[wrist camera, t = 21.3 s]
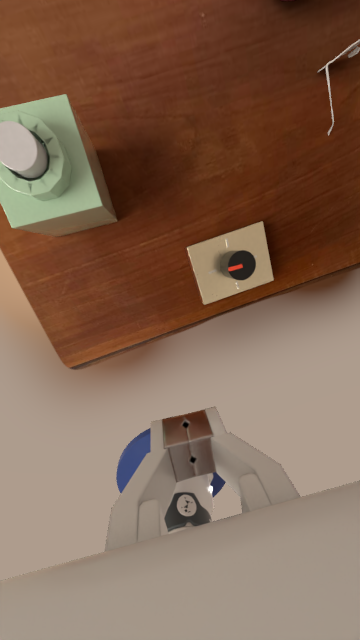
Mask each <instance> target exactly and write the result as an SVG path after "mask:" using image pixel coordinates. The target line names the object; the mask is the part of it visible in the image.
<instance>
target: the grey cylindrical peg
mask: <svg viewBox="0 0 360 640" xmlns="http://www.w3.org/2000/svg"><path fill="white" fill-rule="evenodd" d="M0 162H1V163H2V164H4V165H5V166H6V167H8V168H9V169H11V170H13V171H14V172H16V173H18V174H19V175H21V176H23V177H26V178H37V177H39V176H41V175H42V174H43V173H44V172H45V170H46V168H47V164H48V157H47V153H46V150H45V148H44V147H43V145H42V144H41V142H40V141H39V140H38V139H37V138H36V137H35V136H34V135H33V134H32V133H31V132H30V131H29V130H28V129H27V128H26V127H24V126H23V125H21V124H19V123H17V122H13V121H4V122H1V123H0Z"/></svg>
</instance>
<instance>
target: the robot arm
mask: <svg viewBox="0 0 360 640" xmlns="http://www.w3.org/2000/svg"><path fill="white" fill-rule="evenodd" d="M214 472H217V474H218V475H219V476H220V477H221V478H222V479H223V480H224V481H225V482H226V483H227V484H228V485H229V486H230V487H231V488H232V489H233V490H234V491H235V492H236V493H237V494H238V495H239V496H240V497H241V505H242V514H238V515H235V516H231V517H227V518H224V519H220V520H217V521H213V522H212V521H211V517H210V516H211V514H212V512H213V510H214V503H213V497H212V490H213V489H212V486H210V483H211V481H212V479H213V473H214ZM0 640H360V481H357V482H353V483H349V484H346V485H342V486H339V487H335V488H332V489H328V490H324V491H321V492H317V493H314V494H310V495H306V496H303V497H300V495H299V493H298V492H297V490H296V488H295V487H294V485H293V484H292V482H291V480H290V479H289V477H288V476H287V474H286V472H285V471H284V469H283V468H282V466H281V464H279V463H278V462H276V461H275V460H273V459H272V458H270V457H268V456H267V455H265V454H264V453H262V452H260V451H259V450H257V449H256V448H254V447H253V446H251V445H249V444H248V443H246V442H245V441H243V440H242V439H240V438H238V437H237V436H235V435H234V434H232V433H227V432H226V430H225V427H224V425H223V422H222V420H221V418H220V416H219V413H218V411H217V409H216V407H211V408H207V409H205V410H200V411H196V412H192V413H188V414H184V415H179V416H175V417H170V418H166V419H162V420H158V421H153V422H151V452H150V453H147V454H146V456H145V457H144V459H143V460H142V462H141V464H140V465H139V467H138V468H137V470H136V471H135V473H134V474H133V476H132V477H131V479H130V481H129V482H128V484H127V485H126V487H125V488H124V490H123V491H122V493H121V495H120V496H119V498H118V499H117V501H116V502H115V504H114V505H113V507H112V508H111V515H110V521H109V527H108V533H107V540H106V546H105V552H102V553H98V554H94V555H91V556H87V557H84V558H80V559H77V560H73V561H69V562H66V563H62V564H59V565H55V566H51V567H48V568H44V569H41V570H37V571H34V572H30V573H27V574H23V575H19V576H16V577H12V578H8V579H5V580H1V581H0Z"/></svg>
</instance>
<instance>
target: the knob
mask: <svg viewBox="0 0 360 640" xmlns="http://www.w3.org/2000/svg"><path fill="white" fill-rule="evenodd" d="M255 268H256V260H255V258H254V256H253V255H252V254H251V253H250V252H249V251H246V250H239V251H230V252H227V253H226V254H225V255H224V256H223V257H222V259H221V261H220V270H221V272H222V273H223V275H224V276H226V277H228V278H232V279H235V280H246V279H248V278H249V277H250V276H251V275H252V274H253V273H254V271H255Z"/></svg>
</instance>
